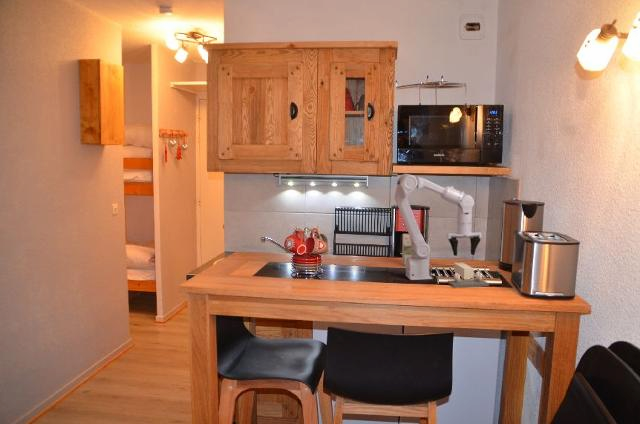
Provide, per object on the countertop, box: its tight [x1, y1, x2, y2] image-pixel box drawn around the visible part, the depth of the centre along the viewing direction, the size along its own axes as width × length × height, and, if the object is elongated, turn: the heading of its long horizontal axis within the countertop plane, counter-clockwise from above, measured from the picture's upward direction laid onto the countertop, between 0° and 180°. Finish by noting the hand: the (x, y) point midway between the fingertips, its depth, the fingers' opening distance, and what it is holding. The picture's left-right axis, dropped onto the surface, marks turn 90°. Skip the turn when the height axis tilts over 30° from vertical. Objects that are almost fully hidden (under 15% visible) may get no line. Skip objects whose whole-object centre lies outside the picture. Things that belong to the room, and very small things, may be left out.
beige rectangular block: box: [453, 262, 475, 279], centre depth 208 cm, size 11×4×5 cm, turn 6°
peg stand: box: [447, 271, 490, 289], centre depth 196 cm, size 14×7×4 cm, turn 96°
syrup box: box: [401, 233, 414, 267], centre depth 232 cm, size 6×6×14 cm
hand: (463, 254), depth 208 cm, fingers open, 7 cm apart
